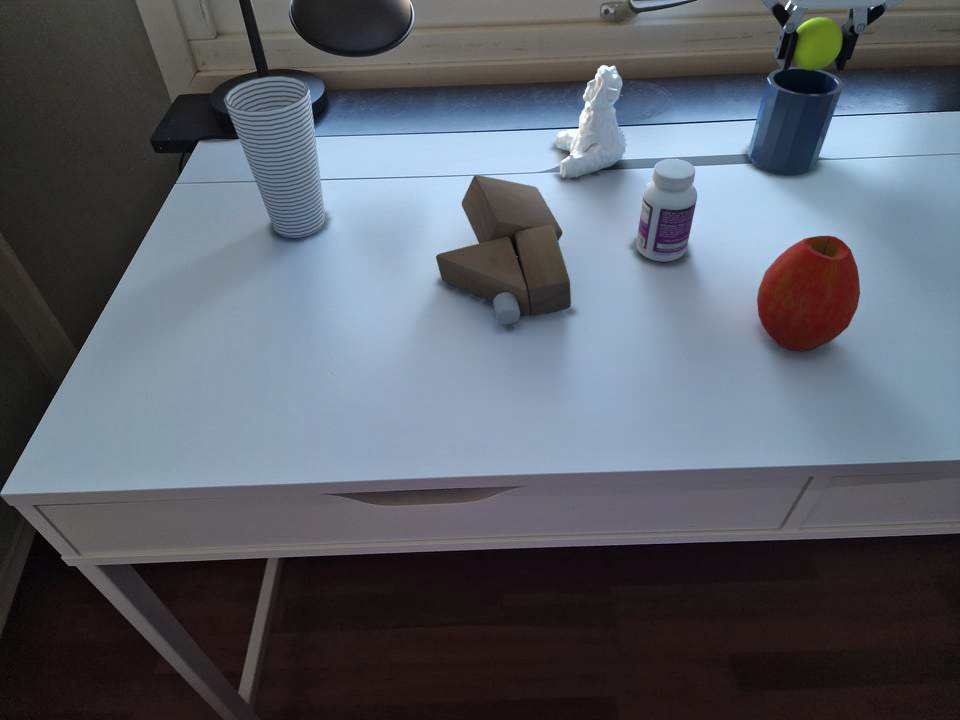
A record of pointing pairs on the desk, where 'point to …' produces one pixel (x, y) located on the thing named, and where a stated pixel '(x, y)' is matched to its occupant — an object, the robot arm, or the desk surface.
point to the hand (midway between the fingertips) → (809, 63)
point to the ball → (817, 43)
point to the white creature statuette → (595, 128)
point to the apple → (809, 293)
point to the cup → (280, 150)
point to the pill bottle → (667, 211)
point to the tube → (793, 120)
